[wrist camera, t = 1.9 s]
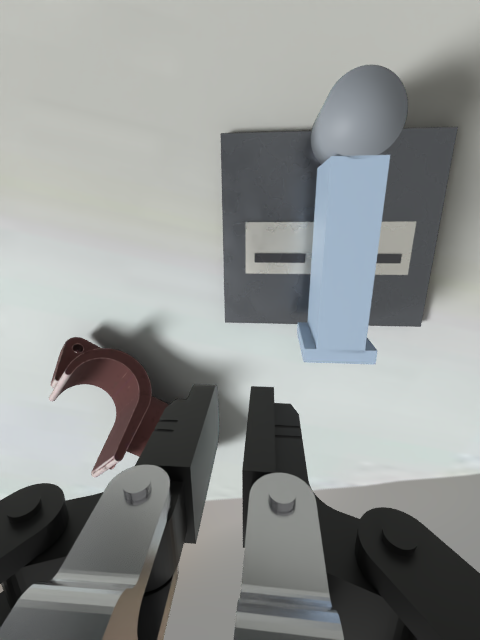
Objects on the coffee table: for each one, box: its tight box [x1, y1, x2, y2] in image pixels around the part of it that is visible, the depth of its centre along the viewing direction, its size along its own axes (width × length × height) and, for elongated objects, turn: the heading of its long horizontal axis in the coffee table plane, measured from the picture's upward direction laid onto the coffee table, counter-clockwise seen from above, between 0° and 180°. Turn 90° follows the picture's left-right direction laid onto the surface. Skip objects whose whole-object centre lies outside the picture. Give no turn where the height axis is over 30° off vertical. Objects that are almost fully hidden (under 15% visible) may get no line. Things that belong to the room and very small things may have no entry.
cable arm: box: [297, 65, 408, 364], centre depth 22 cm, size 17×5×6 cm, turn 0°
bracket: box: [49, 337, 169, 477], centre depth 31 cm, size 6×17×10 cm, turn 53°
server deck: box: [221, 127, 458, 327], centre depth 27 cm, size 16×18×4 cm
